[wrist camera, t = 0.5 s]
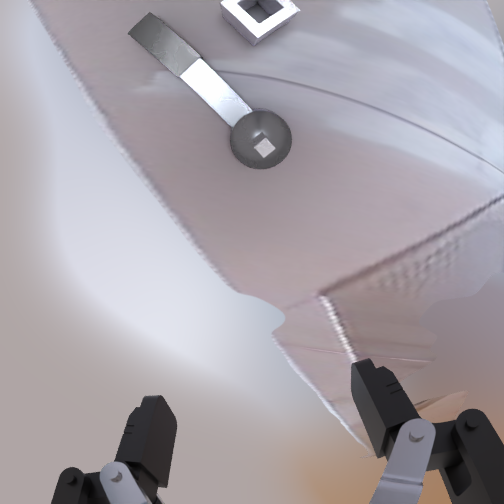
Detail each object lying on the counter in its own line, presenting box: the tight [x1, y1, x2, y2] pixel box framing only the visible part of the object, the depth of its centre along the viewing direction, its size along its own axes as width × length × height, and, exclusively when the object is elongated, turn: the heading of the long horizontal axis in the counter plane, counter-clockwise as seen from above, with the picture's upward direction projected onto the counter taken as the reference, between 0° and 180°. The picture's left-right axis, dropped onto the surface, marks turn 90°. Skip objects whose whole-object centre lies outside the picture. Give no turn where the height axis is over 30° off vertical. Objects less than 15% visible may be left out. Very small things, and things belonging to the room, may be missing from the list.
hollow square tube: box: [220, 0, 300, 46], centre depth 20 cm, size 5×5×6 cm
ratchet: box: [128, 12, 292, 169], centre depth 24 cm, size 22×6×6 cm, turn 41°
